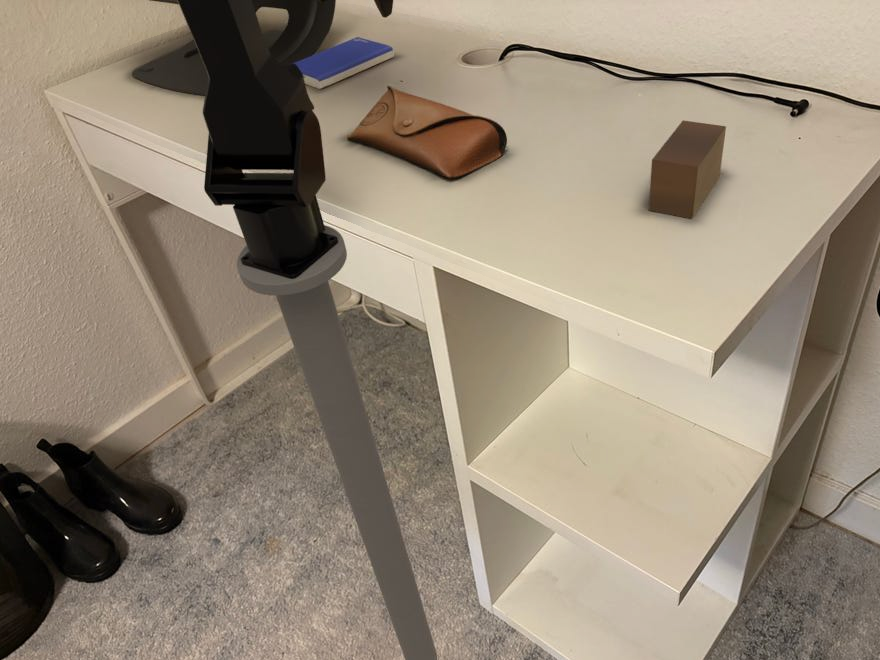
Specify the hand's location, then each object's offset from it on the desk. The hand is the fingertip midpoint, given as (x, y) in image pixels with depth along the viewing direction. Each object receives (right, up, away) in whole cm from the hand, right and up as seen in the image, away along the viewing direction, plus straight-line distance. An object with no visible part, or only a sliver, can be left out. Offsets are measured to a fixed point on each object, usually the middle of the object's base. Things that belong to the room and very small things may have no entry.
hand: (355, 8), depth 78 cm
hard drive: (-6, +2, +22) cm, 23 cm away
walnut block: (+32, -22, -10) cm, 40 cm away
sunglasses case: (+7, -14, +2) cm, 16 cm away
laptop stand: (-22, +6, +29) cm, 37 cm away
